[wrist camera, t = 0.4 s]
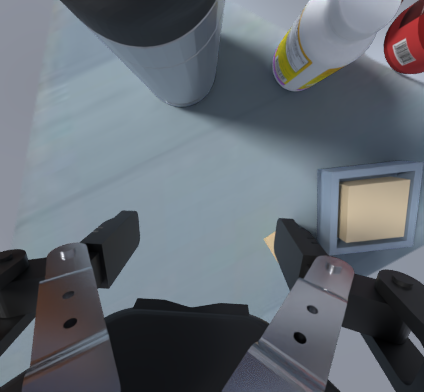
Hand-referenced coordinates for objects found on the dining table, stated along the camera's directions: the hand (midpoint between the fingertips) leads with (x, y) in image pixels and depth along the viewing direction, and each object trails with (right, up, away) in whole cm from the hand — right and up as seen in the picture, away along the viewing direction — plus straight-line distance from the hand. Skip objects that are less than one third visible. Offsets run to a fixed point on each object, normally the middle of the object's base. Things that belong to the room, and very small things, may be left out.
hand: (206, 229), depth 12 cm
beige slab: (+22, 0, +19) cm, 29 cm away
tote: (+22, +1, +20) cm, 30 cm away
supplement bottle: (+11, +19, +15) cm, 27 cm away
